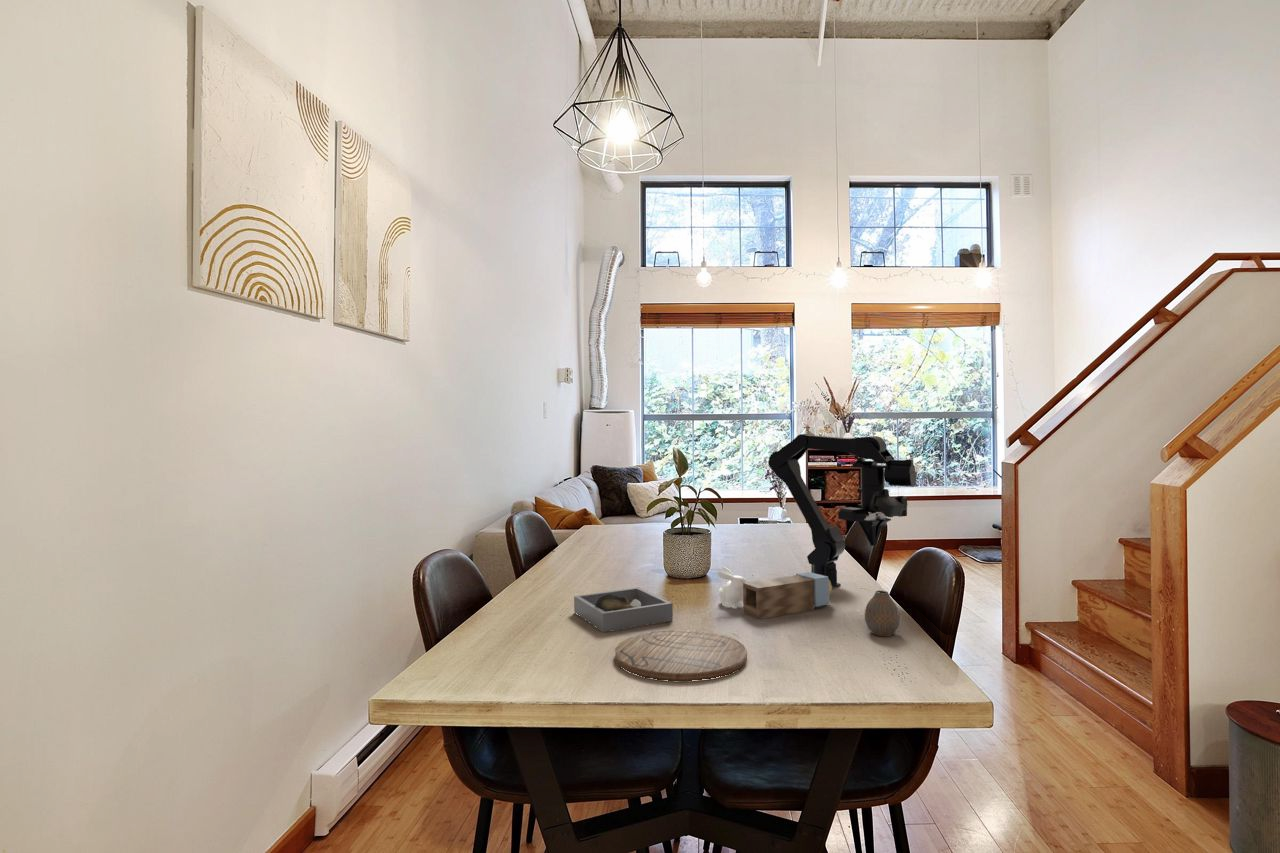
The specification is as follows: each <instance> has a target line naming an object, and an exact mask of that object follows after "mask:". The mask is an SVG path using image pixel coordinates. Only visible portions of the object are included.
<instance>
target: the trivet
mask: <svg viewBox="0 0 1280 853" xmlns="http://www.w3.org/2000/svg"><path fill="white" fill-rule="evenodd" d="M614 650H615V651H614V652H615V654H614V655H615V658H614V660H615V661H616V662H617V664H618V665H619V666H620V667H622V668H624V669H625V670H627V671H629V672H631V673H634V674H637V675H639V676H642V677H645V678H644V679H646V678H653V679H657V680H668V681H692V680H702V679H711V678H716V677H719V676H720V677H721V676H725V675H729V674H731V675H733V674H734V673H733V672H735V671H737V670H739V671H741V670H742V669H743V668H742V667H743V666H744V665H745V664H746V665H747V661H748V660H747V659H748V654H747V653H748V650H747V649H746V647H745V645H744V643H742V642H740V641H739V640H737V639H736V638H733V637H731V636H727V635H725V634H720V633H717V632H712V631H705V630H699V629H663V630H655V631H653V630H652V631H648V632H644V633H638V634H636V635H633V636H630V637H627V638H626V639H624V640H622V641H620V642H619V643H618V644H617V645H616V647H615V648H614ZM616 662H615V663H616ZM617 664H616V665H617ZM618 665H617V666H618ZM746 665H745V666H746ZM619 666H618V667H619ZM745 666H744V667H745ZM620 667H619V668H620ZM741 668H742V669H741ZM737 672H738V671H737ZM732 673H733V674H732ZM735 673H736V672H735ZM729 676H730V675H729ZM725 677H726V676H725ZM721 678H722V677H721ZM657 680H656V681H657Z"/></svg>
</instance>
